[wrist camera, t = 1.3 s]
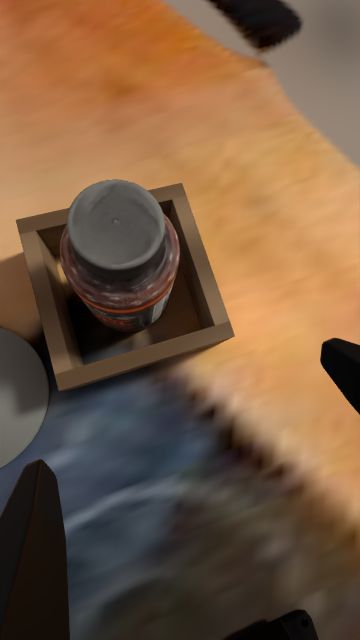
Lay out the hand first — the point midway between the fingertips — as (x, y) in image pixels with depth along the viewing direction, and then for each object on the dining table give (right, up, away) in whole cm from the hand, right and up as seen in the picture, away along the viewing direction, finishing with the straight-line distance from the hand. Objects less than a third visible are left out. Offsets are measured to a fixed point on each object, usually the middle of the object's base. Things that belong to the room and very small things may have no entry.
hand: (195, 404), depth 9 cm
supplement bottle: (-4, +4, +14) cm, 16 cm away
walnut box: (-4, +4, +14) cm, 15 cm away
